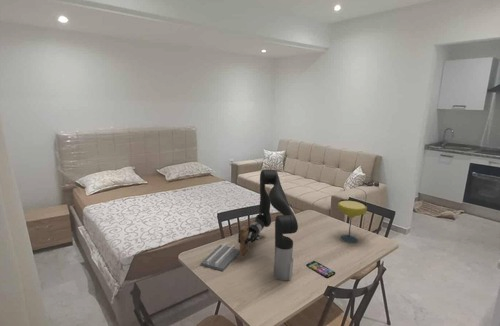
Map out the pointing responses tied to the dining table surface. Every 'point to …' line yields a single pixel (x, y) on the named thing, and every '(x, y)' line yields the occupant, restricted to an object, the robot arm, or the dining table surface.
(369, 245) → the dining table surface
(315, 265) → the smartphone
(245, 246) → the brown wooden block
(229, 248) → the track plinth
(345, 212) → the cocktail glass
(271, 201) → the robot arm
